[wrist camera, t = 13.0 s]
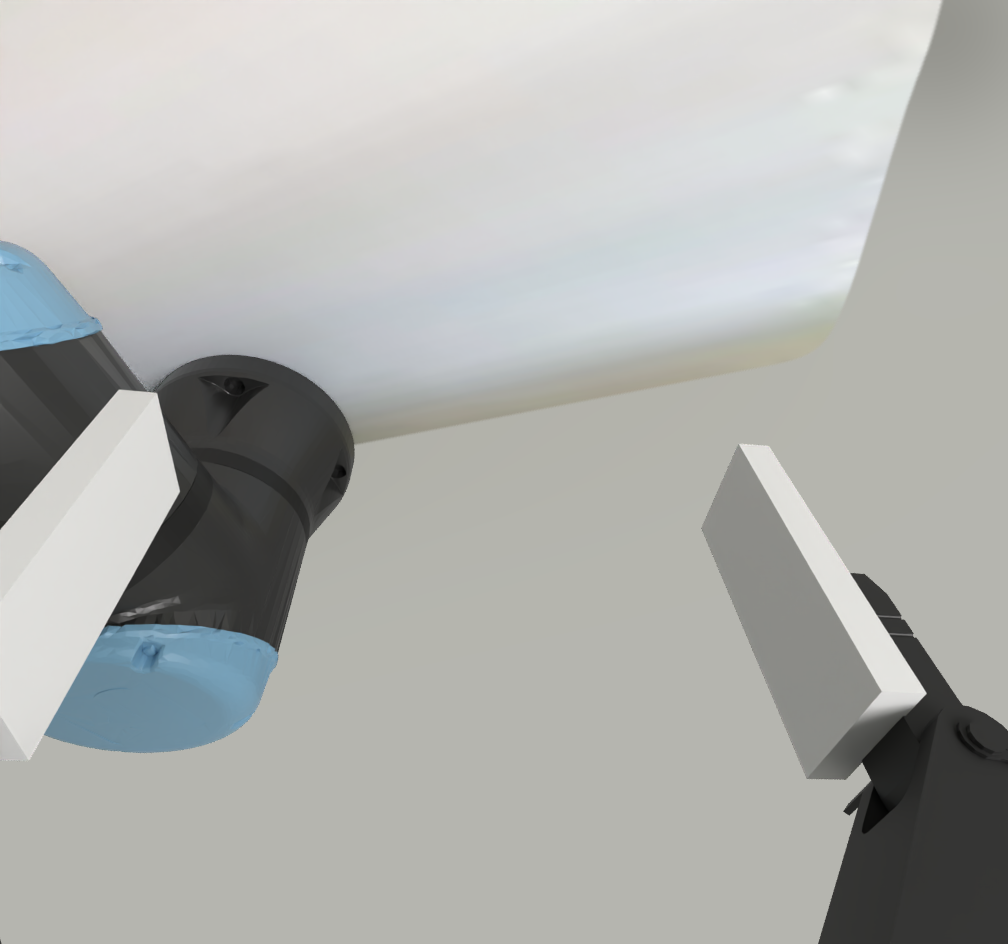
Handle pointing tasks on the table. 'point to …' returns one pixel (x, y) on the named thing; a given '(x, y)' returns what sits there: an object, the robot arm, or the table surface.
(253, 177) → the table surface
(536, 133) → the table surface
